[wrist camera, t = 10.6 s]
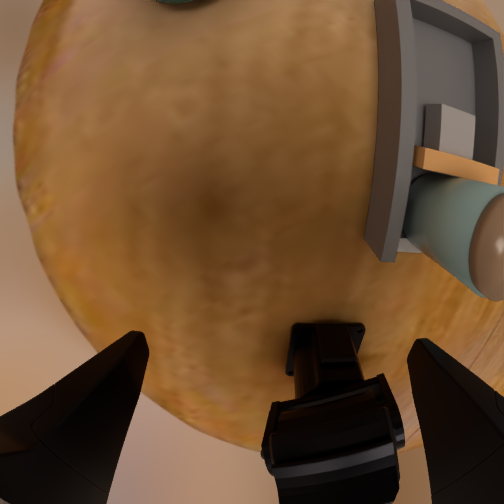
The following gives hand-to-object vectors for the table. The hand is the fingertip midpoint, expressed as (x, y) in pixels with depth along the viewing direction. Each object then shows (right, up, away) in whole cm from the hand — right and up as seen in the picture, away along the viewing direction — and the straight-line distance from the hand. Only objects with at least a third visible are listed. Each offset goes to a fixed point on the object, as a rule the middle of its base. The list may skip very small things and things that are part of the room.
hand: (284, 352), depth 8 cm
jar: (+12, +6, +8) cm, 15 cm away
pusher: (+12, +11, +6) cm, 17 cm away
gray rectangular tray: (+12, +12, +7) cm, 18 cm away
